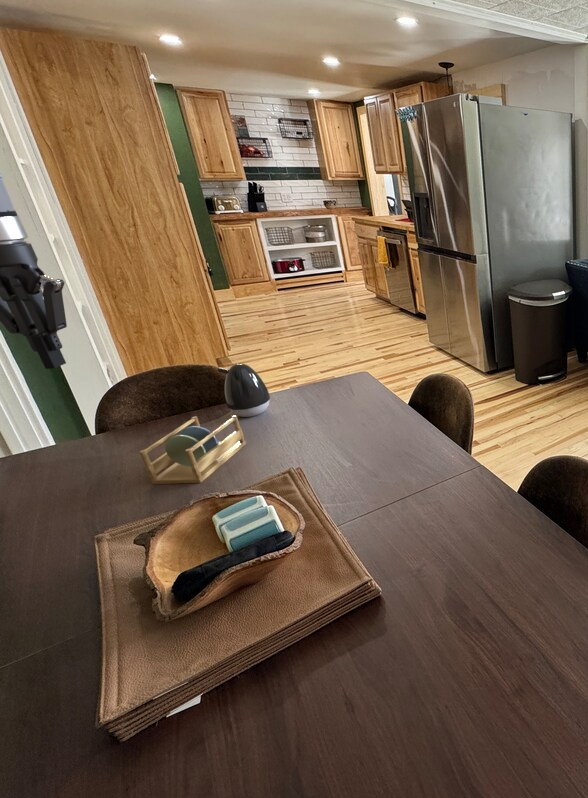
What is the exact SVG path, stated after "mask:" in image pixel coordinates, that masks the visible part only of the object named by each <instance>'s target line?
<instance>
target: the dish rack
mask: <svg viewBox="0 0 588 798" xmlns="http://www.w3.org/2000/svg"><path fill="white" fill-rule="evenodd" d="M231 423H233V426H234V431H233V432H232V433H230V434H229V435H228V436H227V437H225V438H224V439H223V440H221V441H219V440H218V439H217V437H216V435H217V434H218V433H219V432H221V431H222V430H223V429H225V428H226V427H227V426H229V425H230V424H231ZM191 424H193V425H191ZM189 425H191V426H189ZM179 432H180V433H179ZM178 433H179V434H178ZM176 434H177V435H176ZM164 442H166V443H165V444H164V445H165V446H164V447H165V448H164V449H165V452H164V453H163V454H162V455H160V456H159V457H157V458H156V459H155V460H153V461H151V459H150V457H149V455H148V453H149V452H150V451H152V450H153V449H155V448H156V447H158V446H160V445H161V444H162V443H164ZM246 445H247V442H246V440H245V435H244V433H243V429H242V428H241V424H240V422H239V419H238V415H236V414H234V415H231V418H229V419H228V420H227V421H225V422H224V423H223V424H221V425H220V426H218V427H216V429H214V430H213V431H210V430H209V429H207V428H206V427H203V426H201V424H200V421H199V418H198V416H191V418H190V419H189V420H188V421H186V422H184V423H183V424H182V425H180V426H178V427H177V428H176V429H174V430H172V431H171V432H169V433H168V434H166V435H165V436H164V437H162V438H160V439H159V440H157V441H156V442H154V443H153V444H151V445H150V446H148V447H147V448H145V449H142V450H139V455H140V457H141V459H142V462H143V463H144V467H145V470H146V472H147V474H148V477H150V481H151V483H152V485H170V484H171V485H172V484H174V485H176V484H201V483H202V482H204V481H205V480H206V479H207V478H208V477H210V476H211V475H212V474H213V473H214V472H215V471H216V470H218V469H219V468H220V467H221V466H222V465H224V464H225V463H226V462H227V461H228V460H229V459H230V458H232V457H233V456H235V455H236V453H238V452H239V451H240V450H241V449H242V448H244V447H245V446H246ZM173 462H174V463H173ZM172 463H173V464H172ZM170 464H172V465H170ZM169 465H170V466H169ZM165 468H166V469H165ZM163 469H164V471H162V470H163ZM161 471H162V472H161ZM159 472H160V473H159ZM158 473H159V474H158ZM157 474H158V475H157Z"/></svg>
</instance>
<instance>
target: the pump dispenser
mask: <svg viewBox="0 0 588 798" xmlns="http://www.w3.org/2000/svg"><path fill="white" fill-rule="evenodd" d="M216 370H217V372H219V373H221V374H223V375H224V374H225V380H224V398H225V404H226V407H227V409H229V410H230V411H231V412H232V413H233V414H234V415H236V416H237V417H243V418H252V417H254V416H258V415H260V414H262V413H264V412H265V411H266V410H267V409H268V408H269V405H270V400H271V395H270V392H269V389H268V387H267V386H266V384H265V382H264V381H263V379H262V378H261V376H260V375H259V374H258V372H256V371H255V370H254V369H253V368H252V367H251V366H250V365H249V364H246V363H235V364H233V365H232V366H230V367H229V368H223V367H218V368H217V369H216Z"/></svg>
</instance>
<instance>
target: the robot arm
mask: <svg viewBox="0 0 588 798" xmlns="http://www.w3.org/2000/svg"><path fill="white" fill-rule="evenodd" d="M28 237H29V236H28V233H27V232H26V229H25V227H24V225H23V222H22V221H21V219H20V216H19V215H18V213H17V210H16V209H15V206H14V204H13V201H12V199H11V197H10V194H9V192H8V190H7V188H6V185H5V183H4V180H3V176H2V174H0V323H1V324H2V325H3V327H4V328H5V329H6V330H7V331H8V333H10V334H12V335H14V334H18V335H22V336H24V337H25V338H26V341H27V342H28V344H29V346H30V348H31V350H32V351H33V352H35V353H37V354H38V356H39V358H40V360H41V363H42V364H43V367H44V369H45V370H50V369H51V370H52V369H57V368H59V367H61V366H63V365H66V364H67V362H66V359H65V358H64V354H63V353H62V351H61V349H63V343H62V342H61V340H60V338H59V336H58V331H60V330H63V329H65V328H67V327H68V324H67V317H66V311H65V304H64V298H63V289H64V286H65V281H64V280H63V279H61V278H56V279H55V278H52V277H50V276H47V275H46V274H45V272H44V271H43V270H42V269H41V268H40V267H39V266H38V259H39V258H38V256H37V254H36V252H35V250H34V247H33V246H32V243H31V242H29V241H27V240H26V239H28Z"/></svg>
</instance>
